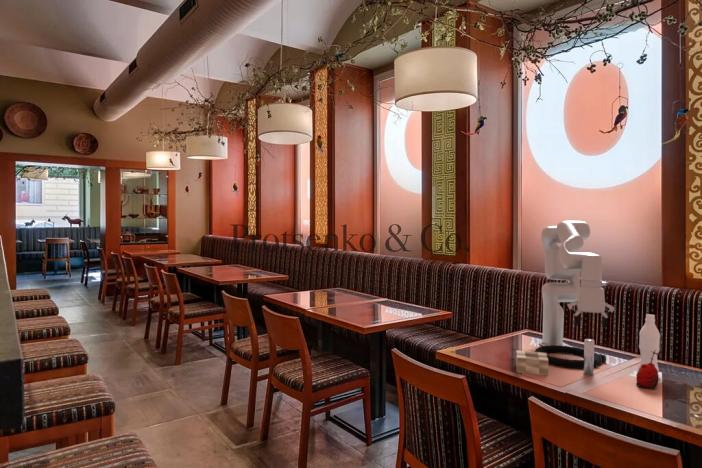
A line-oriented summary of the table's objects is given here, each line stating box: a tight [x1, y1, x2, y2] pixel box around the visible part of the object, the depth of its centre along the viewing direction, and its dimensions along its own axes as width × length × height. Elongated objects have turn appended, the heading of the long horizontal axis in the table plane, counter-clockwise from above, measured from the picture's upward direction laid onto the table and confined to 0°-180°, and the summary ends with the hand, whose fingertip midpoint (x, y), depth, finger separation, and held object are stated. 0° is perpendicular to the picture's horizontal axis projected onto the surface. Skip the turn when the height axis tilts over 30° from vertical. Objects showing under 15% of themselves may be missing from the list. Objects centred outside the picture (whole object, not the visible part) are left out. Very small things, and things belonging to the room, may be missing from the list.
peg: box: [583, 338, 595, 376], centre depth 196 cm, size 4×4×14 cm
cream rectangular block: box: [515, 349, 549, 376], centre depth 201 cm, size 12×12×6 cm
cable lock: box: [533, 345, 607, 369], centre depth 216 cm, size 28×4×30 cm
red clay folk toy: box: [635, 350, 659, 390], centre depth 182 cm, size 8×7×15 cm
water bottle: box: [637, 313, 661, 374], centre depth 195 cm, size 7×7×25 cm
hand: (590, 326), depth 195 cm, fingers open, 9 cm apart
